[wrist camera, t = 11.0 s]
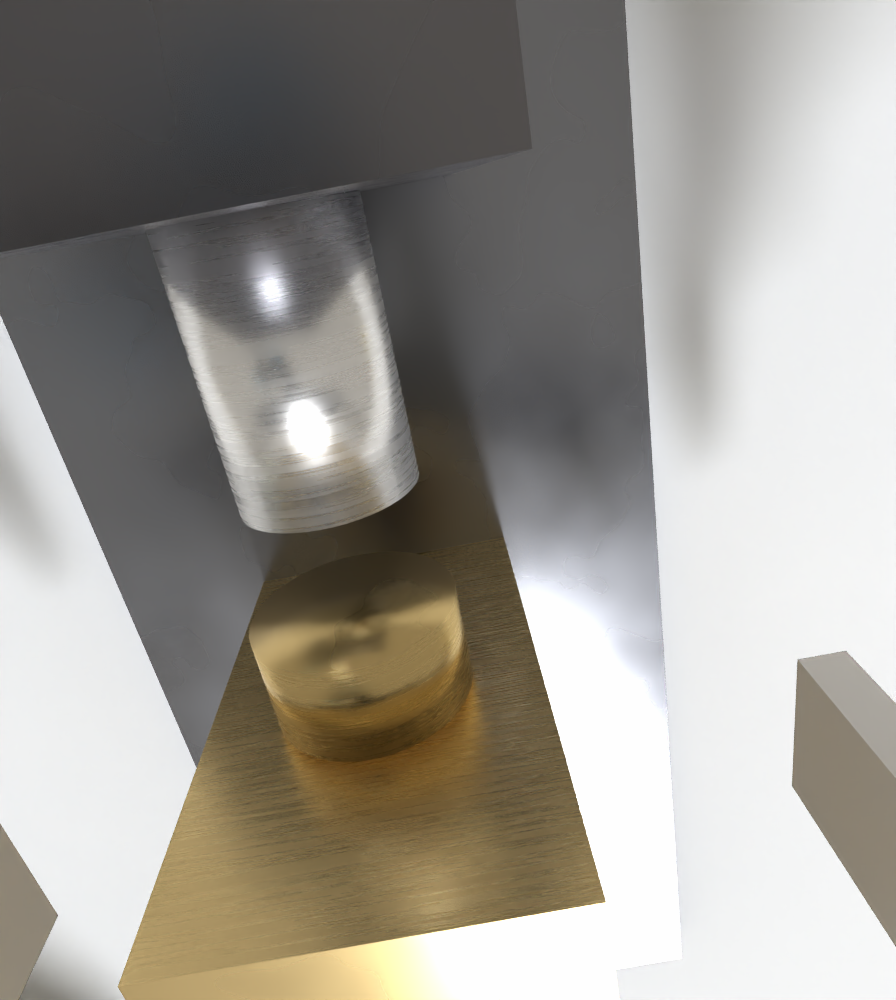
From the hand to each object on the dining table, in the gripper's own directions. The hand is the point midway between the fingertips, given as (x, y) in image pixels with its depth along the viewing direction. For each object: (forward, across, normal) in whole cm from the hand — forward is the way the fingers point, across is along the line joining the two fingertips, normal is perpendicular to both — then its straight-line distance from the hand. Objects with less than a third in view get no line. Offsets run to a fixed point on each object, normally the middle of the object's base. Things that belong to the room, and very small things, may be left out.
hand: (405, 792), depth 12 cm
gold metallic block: (+4, 0, 0) cm, 4 cm away
